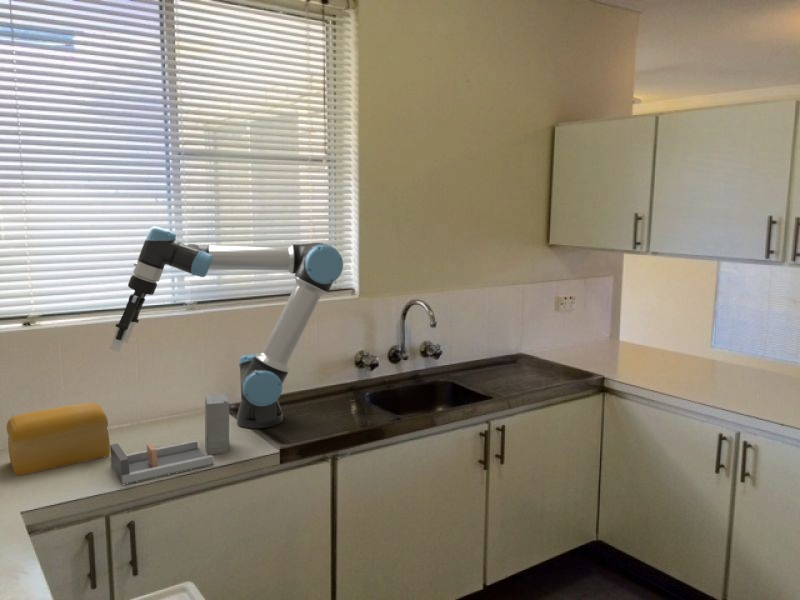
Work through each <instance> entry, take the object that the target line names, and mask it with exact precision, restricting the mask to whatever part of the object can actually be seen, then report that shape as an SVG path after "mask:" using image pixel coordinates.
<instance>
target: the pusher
mask: <svg viewBox="0 0 800 600" xmlns="http://www.w3.org/2000/svg"><path fill="white" fill-rule="evenodd" d="M146 450H147V459H148V462H149V463H150V465H151V466H152V467H157V452H156V449H155V446H154V445H153V444H152V442H150V443H147V444H146Z"/></svg>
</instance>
